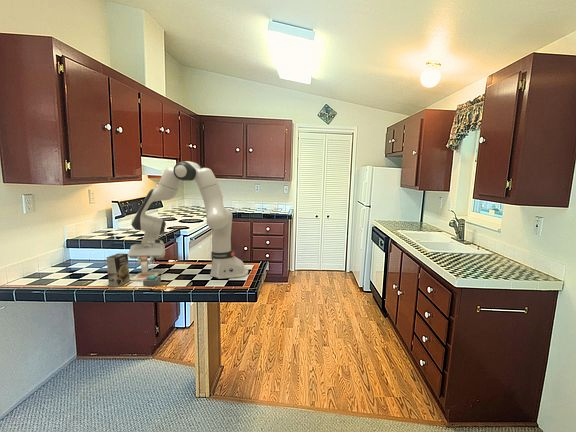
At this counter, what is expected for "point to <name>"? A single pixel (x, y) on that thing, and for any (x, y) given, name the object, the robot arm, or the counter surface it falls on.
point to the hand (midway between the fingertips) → (144, 264)
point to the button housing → (152, 281)
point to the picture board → (143, 276)
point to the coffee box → (118, 270)
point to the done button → (152, 277)
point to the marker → (144, 264)
